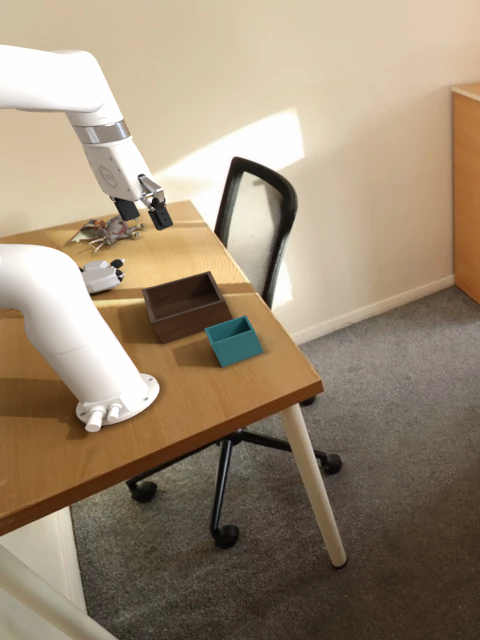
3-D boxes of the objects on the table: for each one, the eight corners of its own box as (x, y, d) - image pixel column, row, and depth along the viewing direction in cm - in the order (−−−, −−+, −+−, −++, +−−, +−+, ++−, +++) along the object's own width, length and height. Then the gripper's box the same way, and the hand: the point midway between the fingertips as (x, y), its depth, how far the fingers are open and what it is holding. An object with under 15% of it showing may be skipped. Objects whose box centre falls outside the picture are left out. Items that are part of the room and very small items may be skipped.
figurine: (122, 234, 127) (49, 242, 123) (134, 253, 131) (63, 262, 127) (141, 200, 141) (75, 207, 137) (151, 219, 145) (88, 226, 141)
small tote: (255, 336, 102) (246, 314, 99) (263, 352, 99) (254, 330, 95) (215, 351, 99) (204, 328, 95) (222, 367, 95) (210, 344, 91)
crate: (234, 320, 107) (225, 300, 103) (163, 344, 100) (150, 323, 96) (218, 290, 116) (210, 270, 113) (152, 309, 110) (141, 289, 106)
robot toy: (76, 279, 120) (66, 305, 110) (65, 263, 118) (55, 288, 107) (132, 267, 125) (129, 291, 115) (124, 252, 123) (119, 274, 112)
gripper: (49, 131, 83) (101, 222, 93) (114, 144, 77) (160, 239, 88) (94, 121, 88) (137, 208, 99) (157, 133, 83) (196, 224, 94)
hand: (148, 223), depth 94 cm, fingers open, 9 cm apart
